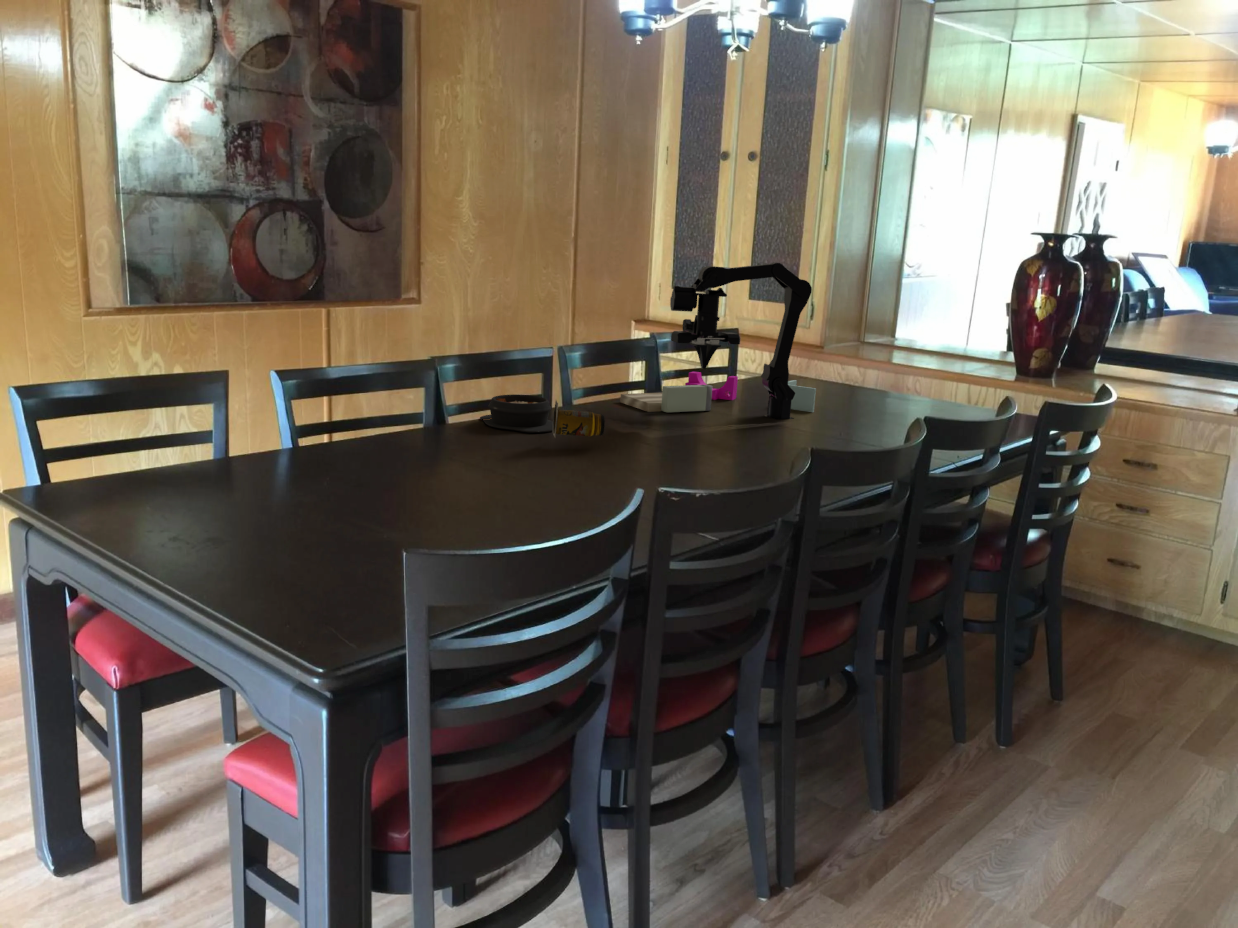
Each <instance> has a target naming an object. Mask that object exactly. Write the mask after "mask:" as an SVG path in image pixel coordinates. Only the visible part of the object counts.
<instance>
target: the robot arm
mask: <svg viewBox="0 0 1238 928" xmlns="http://www.w3.org/2000/svg"><path fill="white" fill-rule="evenodd" d="M769 278H773V279H774V280H775V282H777V284H778V285H779V286H781V287H782V288H783V289H784V294H783V295H784V297H783V301H784V312H783V317H782V320H781V325H780V328H779V332H778V336H777V340H776V345H775V348H774V352H773V356H772V359H771V360H770V362H769V364H767V363H764V364H763V369H762V374H761V375H760V378H762V380H761V381H762V382H761V383H762V386H763V387H764V388H765V389H766V390H767V394H768V396H769V397H768V401H767V410H766V412H767V413H766V414H763V415H762V416H763V417H766V418H769V419H773V420H777V421H779V420H780V421H781V420H794V419H795V417H791V410H792V409H791V401H792V400H793V398H794V395H795V392H794V391H793V390H792V389H791V388H790V386H789V385H788V381H789V378H790V377H789V376H790V373H789V372H790V371H789V360H790V356H791V353H792V352H791V351H792V349H793V345H794V341H795V337H796V332H797V329H798V324H799V319H800V317H801V313H802V312H803V311H804V308H806V305H807V304H808V302H809V299H810V297H811V294H812V291H813V289H812V285H811V284H810V282H809V281H807V280H806V279H801V278H799V277H798V275H796V274H794V273H793V272H792V271H790V270H789V269H787V267H786V266H784V265H783V263H781V262H774V261H773V262H771V263H765V264H755V265H746V266H737V267H727V266H726V267H725V266H714V265H713V266H712V265H707V266H703V267H702V268H701V269H700V270H699V272H698V275H697V279H696V280H695V281H694V282H693V284H692V285H691V286H680V285H673V288H672V292H671V296H670V302H669V303H670V304H669V305H670V311H672V312H690V313H691V312H693V310H694V309H697V312H696V313H697V314H695V316H694V321H692V320H691V319H689V318H688V319H687V318H685V319H683V320H682V331H681V330H679V331H678V330H673V332H672V333H671V336H670V337H671V338H670V341H671V342H674V343H676V344H689V345H691V346H693V347H694V349H695V350H696V354H697V357H698V361H699V364H700V367H701V370H702V369H703V370H706V369H707V367H708V365H709V363H710V361H711V359H712V357H713V355H714V354H715V352H717V349H718V348H721V347H722V345H721V344H720V342H721V343H728V344H729V345H740V344H741V336H740V334H738V333H736V332H728V331H727V332H726V331H725V332H723V331H722V332H720V333H719V332H718V330H717V329H718V322H720V319H721V317H719V308H720V307H719V305H720V298H721V297H725V298H726V297H727V296H728V295H727V293H726V292H725V291H724V290H723V288H722V286H725V285H727V284H730V283H734V282H743V281H748V280H749V281H750V280H759V279H769ZM716 288H717V289H716ZM701 292H702V293H701Z"/></svg>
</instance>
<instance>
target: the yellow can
mask: <svg viewBox="0 0 1238 928" xmlns="http://www.w3.org/2000/svg"><path fill="white" fill-rule="evenodd" d="M605 419H606V418H605V415H604V414H602V413H594V412H593V411H584V410H582V411H581V410H572V409H571V410H569V409H568V410H567V409H559V402H558V400H555V404H554V412H553V420H552V422H553V431H552V434H553V437H554V438H556V435H561V436H575V437H576V436H577V437H578V436H579V437H592V436H598V437H599V436H600V437H601V436H603V435H604V432H605V427H606V426H605V422H606V421H605Z"/></svg>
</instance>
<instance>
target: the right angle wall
mask: <svg viewBox="0 0 1238 928" xmlns="http://www.w3.org/2000/svg"><path fill="white" fill-rule="evenodd" d="M797 382H798V380H796V379H794V380H793V379H792V380H788V385H789V386H790V388H791V389H792V390H793V391H794V392H795V395H794V398H793V400H792V401H791V410H795V411H801V412H809V413H814V412H815V402H816V393H817V388H815V387H807V386H801V385H797Z"/></svg>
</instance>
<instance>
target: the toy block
mask: <svg viewBox="0 0 1238 928" xmlns="http://www.w3.org/2000/svg"><path fill="white" fill-rule="evenodd" d="M738 380H739V376H737V375H735V376H734V375H731V376H728V377H727V379H726V381H725V383H724V384H723V385H722V386H721V387H719V388H713V387H712V399H711V400H713V401H716V400H718V399H719V400H726V401H727V400H728V401H734V400H735V399H737V393H738V392H737V391H738ZM684 385H708V384H707V383H706V382H705V381H704V379H703V375H702V372H701V371H700V372H699V371H690V372H688V381H687V382H685V384H684Z"/></svg>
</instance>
